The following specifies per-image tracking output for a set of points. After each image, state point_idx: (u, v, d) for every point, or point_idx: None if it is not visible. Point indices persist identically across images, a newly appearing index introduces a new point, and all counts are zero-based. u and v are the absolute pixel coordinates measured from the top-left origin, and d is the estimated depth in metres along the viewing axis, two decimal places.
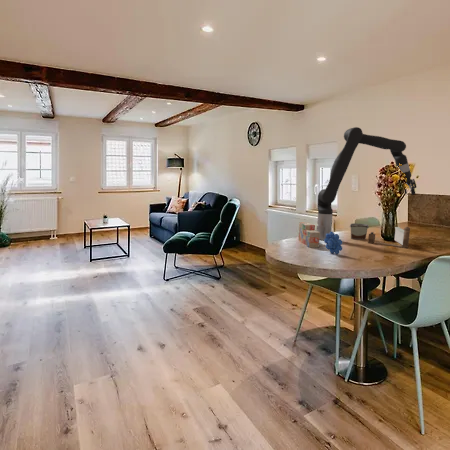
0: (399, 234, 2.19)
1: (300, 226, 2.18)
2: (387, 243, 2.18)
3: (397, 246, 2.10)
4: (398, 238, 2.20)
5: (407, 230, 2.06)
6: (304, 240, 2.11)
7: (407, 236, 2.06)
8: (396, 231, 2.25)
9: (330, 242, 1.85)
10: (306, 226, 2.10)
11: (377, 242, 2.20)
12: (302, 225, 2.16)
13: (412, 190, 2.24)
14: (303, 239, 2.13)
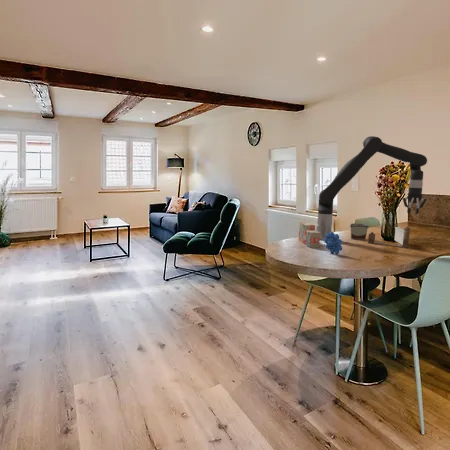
0: (399, 234, 2.19)
1: (301, 226, 2.18)
2: (387, 243, 2.18)
3: (397, 246, 2.10)
4: (398, 238, 2.20)
5: (407, 230, 2.06)
6: (304, 240, 2.11)
7: (407, 236, 2.06)
8: (396, 231, 2.25)
9: (330, 242, 1.85)
10: (306, 226, 2.10)
11: (377, 242, 2.20)
12: (302, 225, 2.15)
13: (418, 209, 2.19)
14: (303, 239, 2.13)
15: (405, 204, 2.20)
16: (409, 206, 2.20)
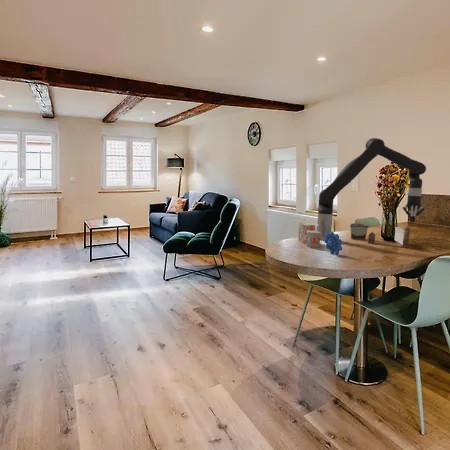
0: (399, 234, 2.19)
1: (300, 226, 2.18)
2: (387, 243, 2.18)
3: (397, 246, 2.10)
4: (398, 238, 2.20)
5: (407, 230, 2.06)
6: (304, 240, 2.11)
7: (407, 236, 2.06)
8: (396, 231, 2.25)
9: (330, 242, 1.85)
10: (306, 226, 2.10)
11: (377, 242, 2.20)
12: (302, 225, 2.15)
13: (414, 217, 2.20)
14: (303, 239, 2.13)
15: (407, 213, 2.21)
16: (411, 214, 2.20)
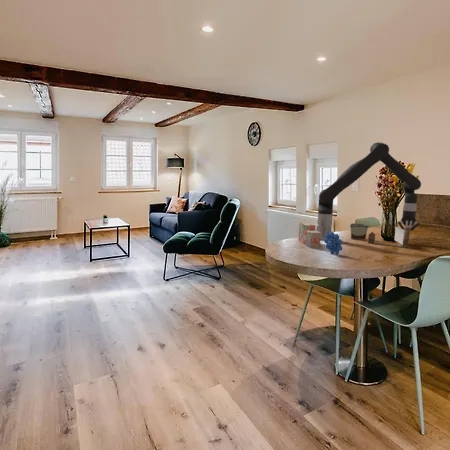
0: (399, 234, 2.19)
1: (301, 227, 2.18)
2: (387, 243, 2.18)
3: (397, 246, 2.10)
4: (398, 238, 2.20)
5: (407, 230, 2.06)
6: (304, 240, 2.11)
7: (407, 236, 2.06)
8: (396, 231, 2.25)
9: (330, 242, 1.85)
10: (306, 226, 2.09)
11: (377, 242, 2.20)
12: (302, 225, 2.15)
13: None
14: (303, 239, 2.12)
15: (401, 227, 2.23)
16: None
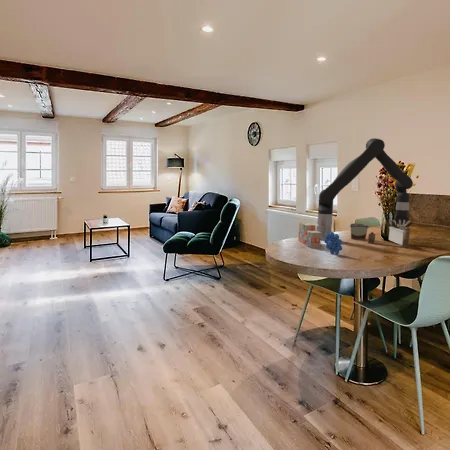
0: (395, 234, 2.19)
1: (301, 227, 2.17)
2: (387, 243, 2.18)
3: (397, 246, 2.10)
4: (394, 238, 2.20)
5: (407, 230, 2.06)
6: (305, 240, 2.10)
7: (407, 236, 2.06)
8: (391, 231, 2.25)
9: (330, 242, 1.85)
10: (307, 226, 2.09)
11: (377, 242, 2.20)
12: (302, 225, 2.14)
13: None
14: (304, 240, 2.12)
15: (395, 226, 2.23)
16: (399, 228, 2.23)
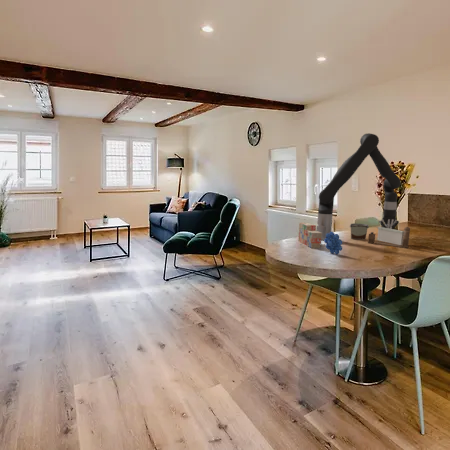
0: (388, 234, 2.18)
1: (301, 227, 2.17)
2: (387, 243, 2.18)
3: (397, 246, 2.10)
4: (388, 238, 2.19)
5: (407, 230, 2.06)
6: (305, 241, 2.10)
7: (407, 236, 2.06)
8: (381, 231, 2.23)
9: (330, 242, 1.85)
10: (307, 226, 2.09)
11: (377, 242, 2.20)
12: (303, 225, 2.14)
13: None
14: (304, 240, 2.12)
15: (384, 226, 2.23)
16: None
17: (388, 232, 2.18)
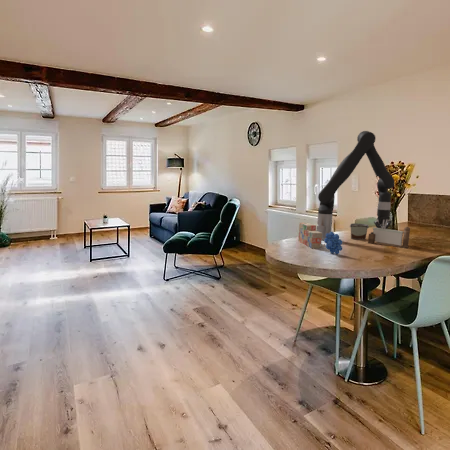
0: (386, 235, 2.16)
1: (301, 227, 2.16)
2: (387, 243, 2.18)
3: (397, 246, 2.10)
4: (385, 239, 2.17)
5: (407, 230, 2.06)
6: (305, 241, 2.10)
7: (407, 236, 2.06)
8: (377, 232, 2.20)
9: (330, 242, 1.85)
10: (307, 226, 2.08)
11: (377, 242, 2.20)
12: (303, 225, 2.14)
13: None
14: (304, 240, 2.11)
15: (379, 227, 2.20)
16: (382, 228, 2.21)
17: (385, 232, 2.16)
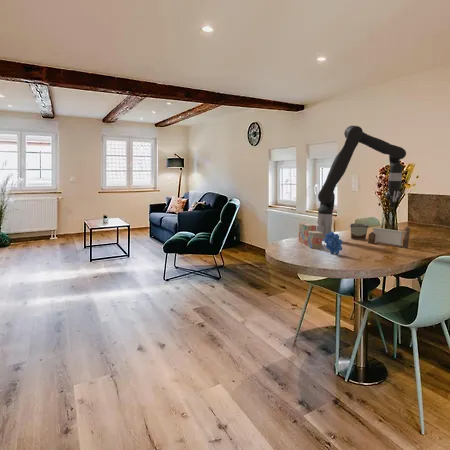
0: (386, 235, 2.16)
1: (301, 227, 2.16)
2: (387, 243, 2.18)
3: (397, 246, 2.10)
4: (385, 239, 2.17)
5: (407, 230, 2.06)
6: (306, 241, 2.09)
7: (407, 236, 2.06)
8: (377, 232, 2.20)
9: (330, 242, 1.85)
10: (308, 227, 2.08)
11: (377, 242, 2.20)
12: (303, 226, 2.13)
13: None
14: (304, 240, 2.11)
15: (390, 198, 2.18)
16: (393, 200, 2.19)
17: (385, 232, 2.16)
